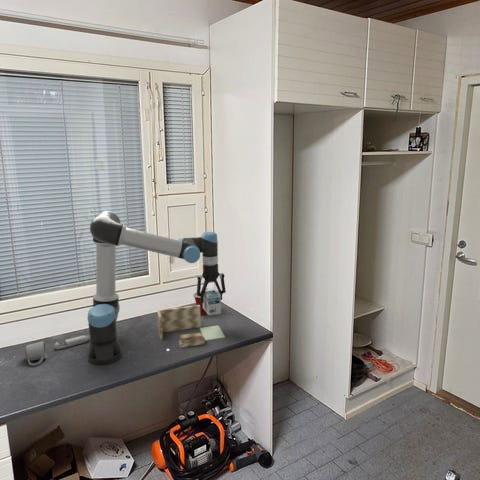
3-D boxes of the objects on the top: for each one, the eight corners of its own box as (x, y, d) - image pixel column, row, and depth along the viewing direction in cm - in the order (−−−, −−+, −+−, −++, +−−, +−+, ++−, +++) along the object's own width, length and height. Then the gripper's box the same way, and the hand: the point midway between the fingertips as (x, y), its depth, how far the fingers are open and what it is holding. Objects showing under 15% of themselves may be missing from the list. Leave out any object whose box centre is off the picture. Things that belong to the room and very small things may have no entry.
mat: (205, 340, 206) (205, 339, 206) (199, 328, 219) (199, 327, 219) (225, 337, 209) (225, 337, 208) (218, 326, 222) (218, 325, 221)
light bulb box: (221, 314, 207) (221, 293, 205) (208, 316, 205) (207, 295, 202) (214, 306, 217) (214, 286, 214) (202, 308, 214) (201, 288, 212)
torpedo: (56, 352, 196) (54, 339, 195) (54, 348, 200) (52, 335, 199) (94, 341, 206) (93, 329, 205) (92, 338, 210) (91, 326, 208)
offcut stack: (180, 347, 199) (179, 338, 198) (178, 343, 203) (178, 334, 202) (204, 344, 203) (204, 335, 201) (202, 340, 207) (202, 331, 206)
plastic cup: (208, 308, 245) (208, 288, 242) (215, 315, 236) (215, 295, 233) (191, 311, 241) (190, 291, 238) (197, 318, 231) (196, 298, 228)
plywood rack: (160, 340, 207) (159, 317, 204) (158, 331, 216) (157, 310, 213) (204, 333, 213) (203, 312, 210) (200, 326, 222) (199, 304, 219)
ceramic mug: (26, 356, 192) (24, 341, 190) (46, 353, 195) (44, 338, 193) (25, 368, 182) (23, 352, 180) (46, 364, 186) (44, 348, 184)
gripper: (191, 267, 198) (193, 312, 204) (232, 263, 204) (232, 307, 210) (188, 263, 205) (190, 306, 211) (227, 259, 211) (228, 302, 217)
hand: (211, 307), depth 210 cm, fingers closed on light bulb box, 7 cm apart
